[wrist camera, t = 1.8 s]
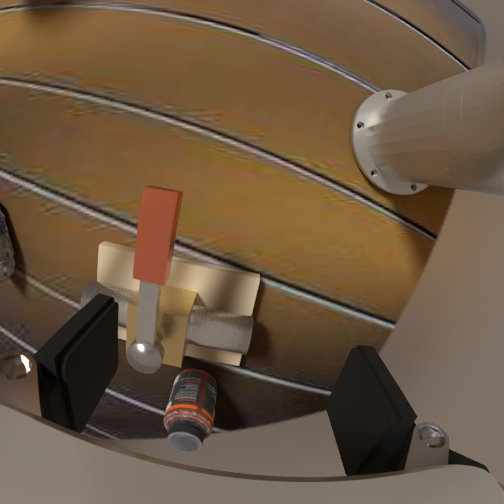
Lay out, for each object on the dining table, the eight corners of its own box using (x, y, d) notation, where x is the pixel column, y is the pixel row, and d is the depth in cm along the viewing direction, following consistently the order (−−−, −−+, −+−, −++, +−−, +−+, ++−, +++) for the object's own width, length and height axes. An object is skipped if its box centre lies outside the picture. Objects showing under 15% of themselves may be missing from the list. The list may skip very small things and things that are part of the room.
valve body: (254, 303, 34) (256, 343, 26) (243, 346, 35) (243, 392, 27) (97, 268, 32) (61, 295, 24) (97, 312, 34) (65, 346, 26)
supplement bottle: (167, 375, 38) (147, 433, 27) (201, 359, 37) (188, 420, 26) (192, 402, 39) (180, 461, 29) (226, 388, 39) (221, 450, 28)
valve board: (259, 274, 34) (260, 278, 33) (239, 359, 37) (238, 365, 36) (104, 241, 33) (99, 244, 32) (101, 326, 36) (97, 331, 35)
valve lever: (163, 366, 26) (159, 377, 24) (132, 358, 26) (126, 368, 24) (187, 192, 22) (182, 193, 20) (147, 185, 22) (139, 186, 20)
